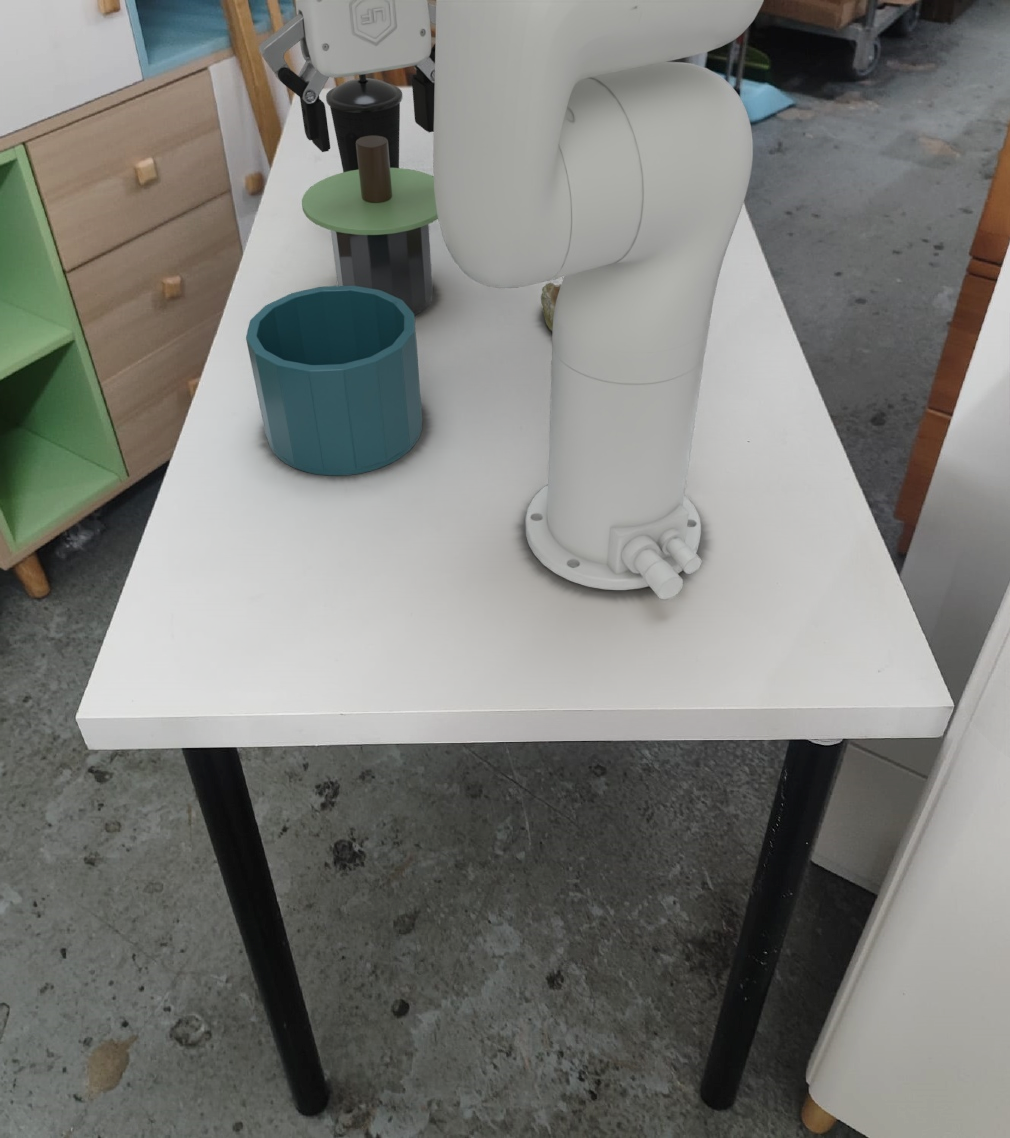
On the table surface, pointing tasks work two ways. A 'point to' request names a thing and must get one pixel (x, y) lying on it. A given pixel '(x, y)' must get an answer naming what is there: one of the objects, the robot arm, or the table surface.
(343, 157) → the drinking cup
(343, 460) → the tin
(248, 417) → the table surface
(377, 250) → the cup
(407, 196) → the lid
